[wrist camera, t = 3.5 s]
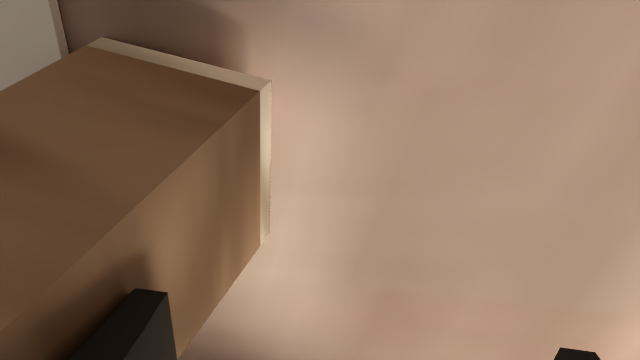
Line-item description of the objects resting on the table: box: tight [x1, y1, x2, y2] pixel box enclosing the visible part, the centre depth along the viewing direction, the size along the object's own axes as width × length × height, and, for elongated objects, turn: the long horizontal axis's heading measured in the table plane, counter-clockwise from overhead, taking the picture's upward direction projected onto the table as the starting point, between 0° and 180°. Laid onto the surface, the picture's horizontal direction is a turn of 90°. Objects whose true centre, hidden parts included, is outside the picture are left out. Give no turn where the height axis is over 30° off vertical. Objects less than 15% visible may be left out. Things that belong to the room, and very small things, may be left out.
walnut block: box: [0, 37, 271, 360], centre depth 13 cm, size 5×5×9 cm
